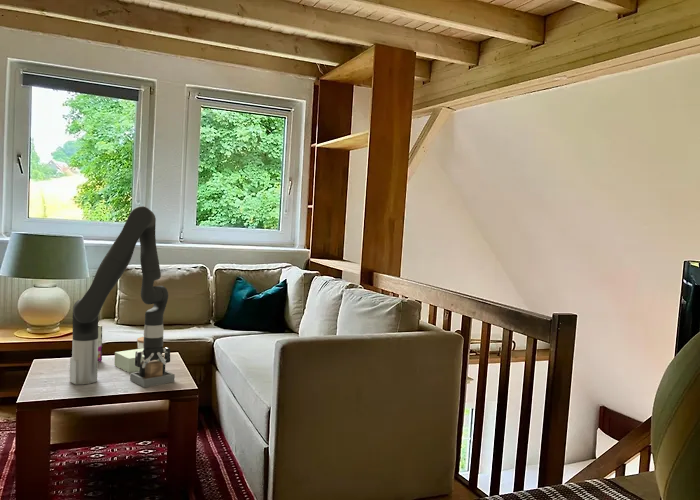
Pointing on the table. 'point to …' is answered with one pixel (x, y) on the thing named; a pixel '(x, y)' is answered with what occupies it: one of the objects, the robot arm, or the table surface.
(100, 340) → the candy bar box
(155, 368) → the walnut parts box
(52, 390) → the table surface
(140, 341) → the lidded jar
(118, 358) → the block
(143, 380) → the charcoal bin
